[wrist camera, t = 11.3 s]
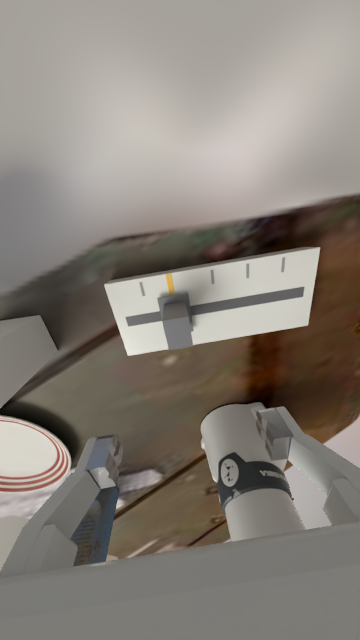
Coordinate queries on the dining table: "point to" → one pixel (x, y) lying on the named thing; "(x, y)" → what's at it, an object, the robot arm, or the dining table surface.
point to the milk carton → (22, 352)
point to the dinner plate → (30, 457)
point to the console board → (218, 298)
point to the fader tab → (176, 320)
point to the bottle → (96, 528)
